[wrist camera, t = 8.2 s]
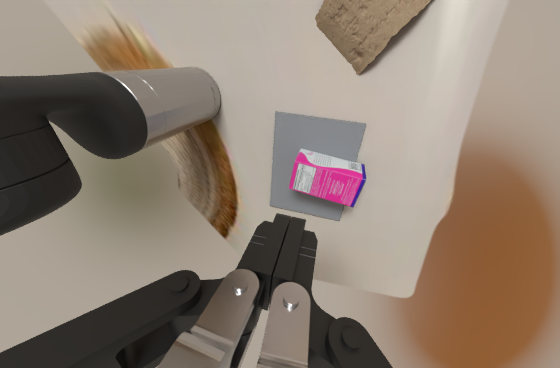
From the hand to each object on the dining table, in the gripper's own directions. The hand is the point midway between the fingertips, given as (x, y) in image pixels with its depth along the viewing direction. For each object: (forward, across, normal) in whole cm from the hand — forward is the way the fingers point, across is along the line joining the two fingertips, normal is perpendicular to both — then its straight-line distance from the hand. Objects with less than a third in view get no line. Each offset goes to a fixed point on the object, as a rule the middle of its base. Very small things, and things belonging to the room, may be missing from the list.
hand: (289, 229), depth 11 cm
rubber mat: (+29, +1, +11) cm, 31 cm away
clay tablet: (+30, -3, -14) cm, 33 cm away
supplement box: (+26, -8, +10) cm, 29 cm away
